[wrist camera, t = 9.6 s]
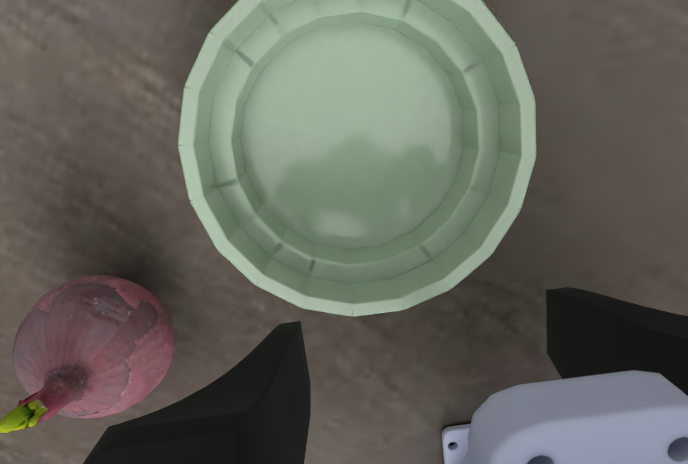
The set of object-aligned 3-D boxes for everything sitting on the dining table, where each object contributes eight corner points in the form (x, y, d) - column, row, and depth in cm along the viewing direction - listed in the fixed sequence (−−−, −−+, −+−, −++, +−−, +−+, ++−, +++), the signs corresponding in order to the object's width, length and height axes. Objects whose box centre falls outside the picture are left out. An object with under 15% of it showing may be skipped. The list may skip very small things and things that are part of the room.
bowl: (497, 256, 24) (539, 293, 19) (238, 289, 24) (216, 334, 19) (485, -30, 21) (532, -72, 16) (184, 7, 21) (142, -22, 16)
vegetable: (212, 280, 24) (136, 396, 14) (170, 380, 25) (75, 547, 16) (94, 231, 23) (-71, 320, 14) (57, 338, 25) (-117, 487, 15)
